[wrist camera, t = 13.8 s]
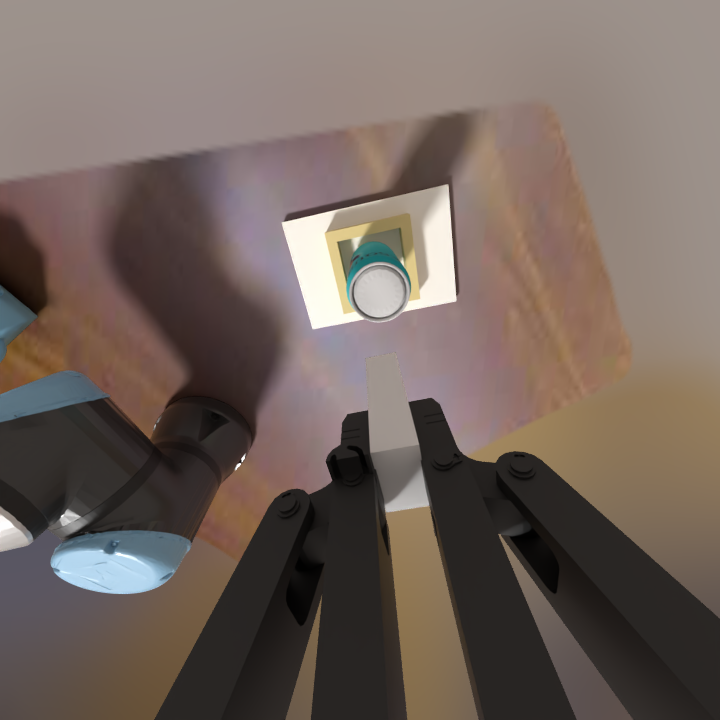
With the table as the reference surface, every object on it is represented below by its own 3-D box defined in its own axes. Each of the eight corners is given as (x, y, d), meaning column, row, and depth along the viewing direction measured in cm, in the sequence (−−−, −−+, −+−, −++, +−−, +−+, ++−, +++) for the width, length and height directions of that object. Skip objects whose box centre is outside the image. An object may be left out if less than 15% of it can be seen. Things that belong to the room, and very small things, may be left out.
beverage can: (352, 237, 38) (348, 254, 25) (398, 242, 38) (419, 262, 25) (348, 284, 41) (343, 322, 27) (392, 288, 41) (407, 328, 28)
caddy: (313, 326, 44) (310, 335, 41) (283, 222, 38) (276, 223, 35) (454, 299, 43) (461, 306, 39) (446, 184, 36) (454, 182, 33)
